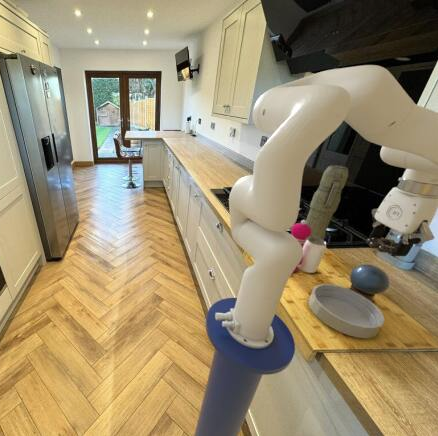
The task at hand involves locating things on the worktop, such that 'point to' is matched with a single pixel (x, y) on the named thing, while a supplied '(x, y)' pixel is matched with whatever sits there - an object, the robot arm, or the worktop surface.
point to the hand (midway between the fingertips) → (386, 246)
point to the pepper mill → (301, 234)
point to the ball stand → (368, 281)
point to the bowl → (346, 310)
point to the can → (312, 254)
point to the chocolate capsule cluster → (382, 244)
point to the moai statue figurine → (326, 200)
